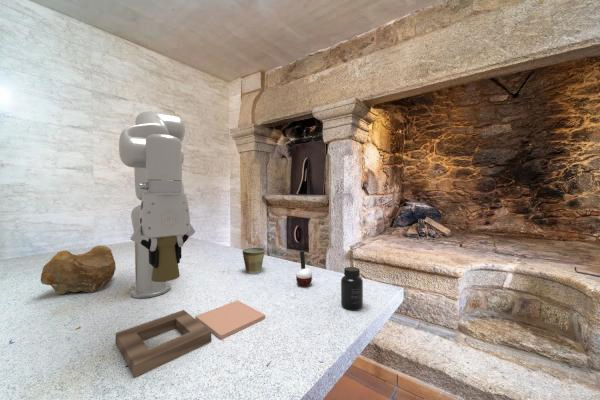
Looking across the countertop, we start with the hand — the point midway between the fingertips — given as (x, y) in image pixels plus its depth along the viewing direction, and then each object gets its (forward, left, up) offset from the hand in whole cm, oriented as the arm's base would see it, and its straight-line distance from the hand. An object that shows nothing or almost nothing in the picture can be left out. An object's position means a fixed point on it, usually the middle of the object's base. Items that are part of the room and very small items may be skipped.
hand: (165, 263), depth 60 cm
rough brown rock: (-56, -8, -19) cm, 60 cm away
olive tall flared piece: (0, 0, -3) cm, 3 cm away
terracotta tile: (+2, +16, -19) cm, 25 cm away
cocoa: (0, +50, -19) cm, 54 cm away
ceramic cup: (-28, +47, -19) cm, 58 cm away
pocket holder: (0, -1, -19) cm, 19 cm away
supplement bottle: (+23, +47, -19) cm, 56 cm away
